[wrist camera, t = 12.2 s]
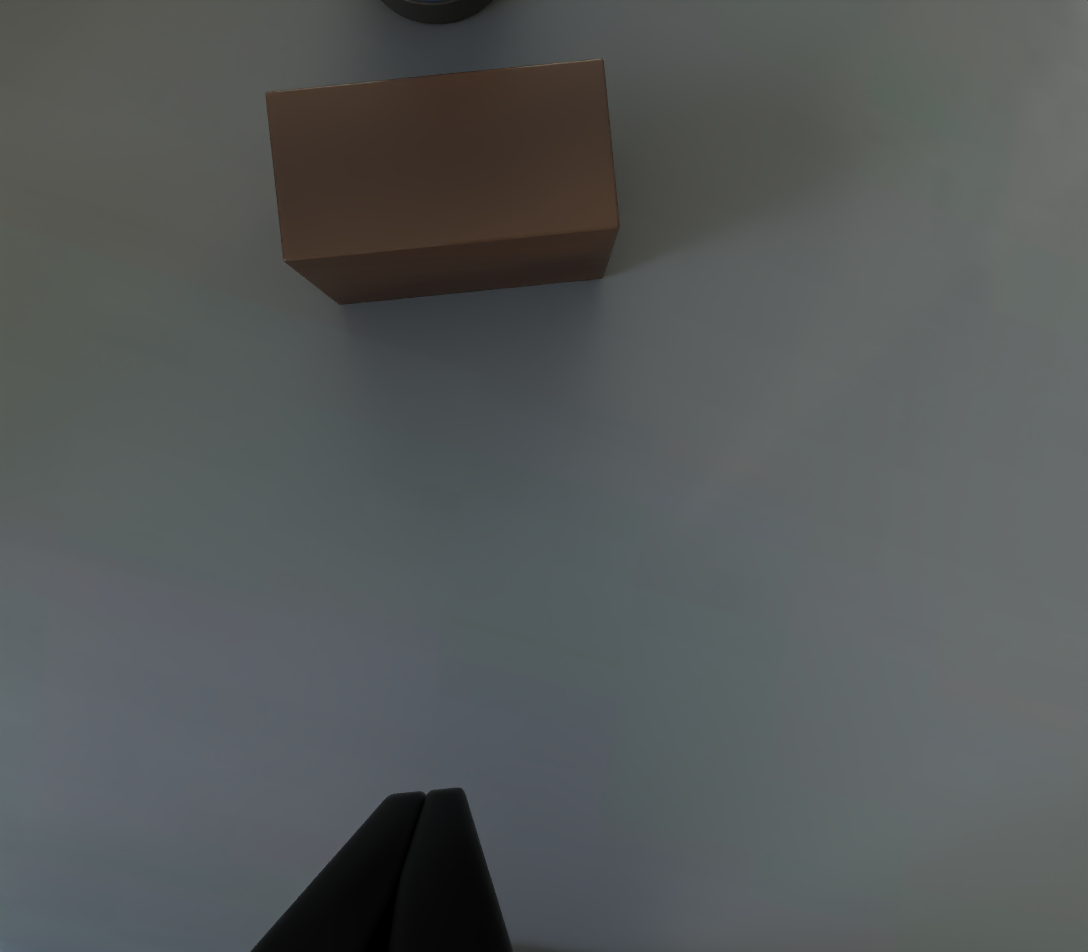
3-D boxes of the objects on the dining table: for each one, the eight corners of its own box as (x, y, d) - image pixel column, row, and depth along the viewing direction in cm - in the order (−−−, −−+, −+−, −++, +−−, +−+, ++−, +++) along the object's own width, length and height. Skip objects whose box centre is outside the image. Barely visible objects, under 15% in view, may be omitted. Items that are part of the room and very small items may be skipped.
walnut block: (603, 279, 18) (620, 228, 14) (338, 305, 18) (282, 261, 14) (590, 145, 18) (604, 56, 14) (324, 171, 18) (263, 90, 14)
